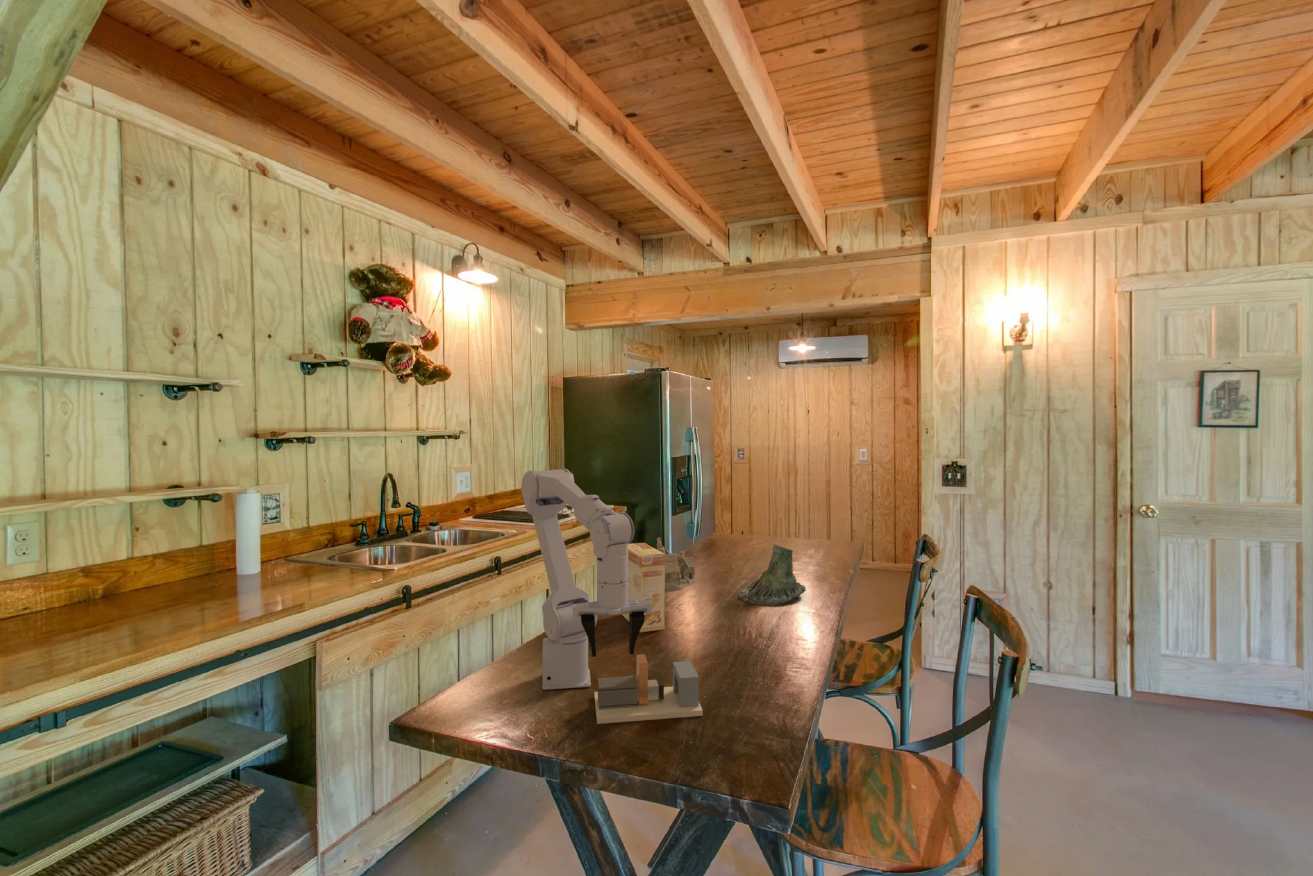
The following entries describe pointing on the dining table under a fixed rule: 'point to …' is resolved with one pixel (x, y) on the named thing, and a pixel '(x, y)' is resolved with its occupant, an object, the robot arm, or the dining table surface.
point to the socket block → (686, 684)
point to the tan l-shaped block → (647, 683)
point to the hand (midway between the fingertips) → (612, 653)
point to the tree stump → (775, 582)
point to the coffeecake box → (647, 582)
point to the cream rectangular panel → (635, 703)
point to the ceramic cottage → (677, 569)
